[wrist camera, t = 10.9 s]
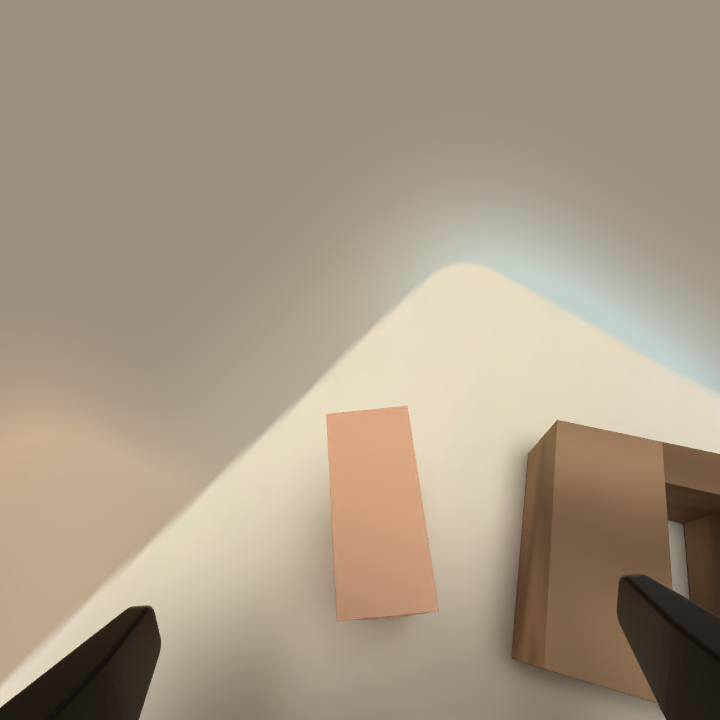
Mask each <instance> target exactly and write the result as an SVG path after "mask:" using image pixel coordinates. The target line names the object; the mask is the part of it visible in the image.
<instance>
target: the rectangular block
mask: <svg viewBox="0 0 720 720" xmlns="http://www.w3.org/2000/svg"><path fill="white" fill-rule="evenodd" d="M326 417H327V436H328V456H329V475H330V495H331V514H332V534H333V553H334V573H335V592H336V612H337V621H346V620H363V619H373V618H383V617H393V616H403V615H413V614H421V613H428V612H435V611H439V610H438V603H437V597H436V590H435V584H434V577H433V570H432V564H431V557H430V551H429V544H428V538H427V531H426V525H425V518H424V511H423V505H422V498H421V492H420V485H419V479H418V472H417V466H416V459H415V452H414V446H413V439H412V433H411V426H410V420H409V413H408V406H401V407H392V408H382V409H372V410H362V411H352V412H342V413H333V414H326Z"/></svg>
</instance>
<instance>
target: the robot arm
mask: <svg viewBox="0 0 720 720" xmlns="http://www.w3.org/2000/svg"><path fill="white" fill-rule="evenodd" d="M616 610H617V618H618V621H619V624H620V626H621V628H622V630H623V632H624V634H625V637H626V639H627V641H628V643H629V645H630V647H631V649H632V651H633V653H634V655H635V657H636V659H637V661H638V664H639V666H640V668H641V670H642V672H643V674H644V676H645V678H646V680H647V682H648V684H649V686H650V688H651V691H652V693H653V695H654V697H655V699H656V701H657V703H658V705H659V707H660V709H661V711H662V713H663V714H664V716H665V718H666V720H720V617H718V616H716V615H714V614H713V613H711V612H709V611H707V610H706V609H704V608H702V607H700V606H699V605H697V604H695V603H694V602H692V601H690V600H688V599H687V598H685V597H683V596H681V595H680V594H678V593H676V592H674V591H673V590H671V589H669V588H668V587H666V586H664V585H662V584H661V583H659V582H657V581H655V580H654V579H652V578H650V577H648V576H646V575H644V574H628V575H622V576H621V577H620V579H619V583H618V596H617V608H616ZM160 649H161V638H160V633H159V629H158V625H157V620H156V616H155V612H154V609H153V608H152V607H151V606H133V607H130V608H128V609H126V610H125V611H124V612H122V613H121V614H120V615H118V616H117V617H116V618H115V619H113V620H112V621H111V622H109V623H108V624H107V625H106V626H104V627H103V628H102V629H101V630H99V631H98V632H97V633H95V634H94V635H93V636H92V637H90V638H89V639H88V640H86V641H85V642H84V643H83V644H81V645H80V646H79V647H77V648H76V649H75V650H74V651H72V652H71V653H70V654H68V655H67V656H66V657H65V658H63V659H62V660H61V661H59V662H58V663H57V664H56V665H54V666H53V667H52V668H51V669H49V670H48V671H47V672H45V673H44V674H43V675H42V676H40V677H39V678H38V679H36V680H35V681H34V682H33V683H31V684H30V685H29V686H27V687H26V688H25V689H24V690H22V691H21V692H20V693H18V694H17V695H16V696H15V697H13V698H12V699H11V700H10V701H8V702H7V703H6V704H4V705H3V706H2V707H1V708H0V720H139V717H140V714H141V711H142V708H143V705H144V702H145V698H146V695H147V692H148V689H149V686H150V682H151V679H152V676H153V673H154V670H155V666H156V663H157V660H158V657H159V653H160Z"/></svg>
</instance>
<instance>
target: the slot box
mask: <svg viewBox="0 0 720 720" xmlns="http://www.w3.org/2000/svg"><path fill="white" fill-rule="evenodd" d="M668 520H671V521H675V522H679V523H683V524H684V531H685V543H686V554H687V566H688V578H689V589H690V601H692V602H694V603H695V604H697V605H699V606H700V607H702V608H704V609H706V610H707V611H709V612H711V613H713V614H714V615H716V616H718V617H720V454H717V453H712V452H707V451H702V450H698V449H693V448H688V447H683V446H679V445H674V444H669V443H664V442H659V441H655V440H650V439H645V438H640V437H636V436H631V435H626V434H621V433H617V432H612V431H607V430H602V429H598V428H593V427H588V426H583V425H579V424H574V423H569V422H564V421H559V420H557V421H556V422H555V423H554V424H553V426H552V427H551V428H550V429H549V430H548V431H547V433H546V434H545V435H544V436H543V437H542V438H541V440H540V441H539V442H538V443H537V444H536V445H535V447H534V448H533V449H532V450H531V451H530V452H529V454H528V465H527V477H526V489H525V501H524V513H523V525H522V537H521V549H520V561H519V574H518V586H517V598H516V610H515V622H514V634H513V646H512V658H514V659H517V660H520V661H523V662H526V663H529V664H532V665H535V666H538V667H541V668H544V669H547V670H550V671H554V672H557V673H560V674H564V675H567V676H570V677H573V678H577V679H580V680H583V681H587V682H590V683H593V684H596V685H600V686H603V687H606V688H609V689H613V690H616V691H619V692H623V693H626V694H629V695H632V696H636V697H639V698H642V699H645V700H649V701H652V702H655V703H657V701H656V699H655V697H654V695H653V693H652V691H651V688H650V686H649V684H648V682H647V680H646V678H645V676H644V674H643V672H642V670H641V668H640V666H639V664H638V661H637V659H636V657H635V655H634V653H633V651H632V649H631V647H630V645H629V643H628V641H627V639H626V637H625V634H624V632H623V630H622V628H621V626H620V624H619V621H618V618H617V610H616V608H617V596H618V583H619V579H620V577H621V576H622V575H628V574H644V575H646V576H648V577H650V578H652V579H654V580H655V581H657V582H659V583H661V584H662V585H664V586H666V587H668V588H669V589H671V590H672V578H671V563H670V548H669V534H668Z"/></svg>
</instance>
